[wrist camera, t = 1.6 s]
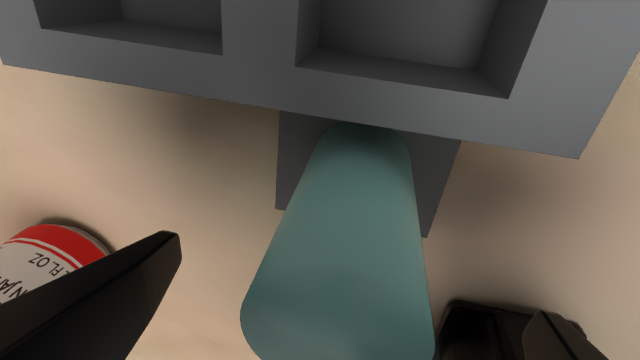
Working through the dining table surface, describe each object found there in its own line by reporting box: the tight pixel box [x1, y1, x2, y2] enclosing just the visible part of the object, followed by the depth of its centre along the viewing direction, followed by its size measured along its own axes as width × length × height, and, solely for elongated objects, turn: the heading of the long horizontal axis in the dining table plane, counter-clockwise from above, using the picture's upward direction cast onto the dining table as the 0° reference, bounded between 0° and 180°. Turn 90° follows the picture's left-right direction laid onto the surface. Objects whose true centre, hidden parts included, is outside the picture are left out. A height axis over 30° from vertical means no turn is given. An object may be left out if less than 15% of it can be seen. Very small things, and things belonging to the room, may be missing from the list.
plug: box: [240, 121, 435, 360], centre depth 10 cm, size 4×4×8 cm
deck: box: [275, 110, 461, 238], centre depth 14 cm, size 6×7×1 cm
